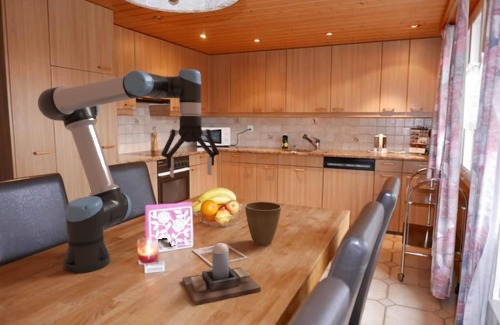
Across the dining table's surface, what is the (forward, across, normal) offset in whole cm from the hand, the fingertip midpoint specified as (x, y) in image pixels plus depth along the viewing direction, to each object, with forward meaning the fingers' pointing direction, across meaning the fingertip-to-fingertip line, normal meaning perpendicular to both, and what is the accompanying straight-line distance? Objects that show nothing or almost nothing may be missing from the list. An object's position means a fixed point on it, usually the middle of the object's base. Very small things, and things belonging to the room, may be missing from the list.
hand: (191, 175), depth 127 cm
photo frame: (+32, -11, -2) cm, 34 cm away
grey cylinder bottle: (+30, -3, +23) cm, 38 cm away
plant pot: (+31, -32, -6) cm, 45 cm away
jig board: (+31, -3, +23) cm, 39 cm away
